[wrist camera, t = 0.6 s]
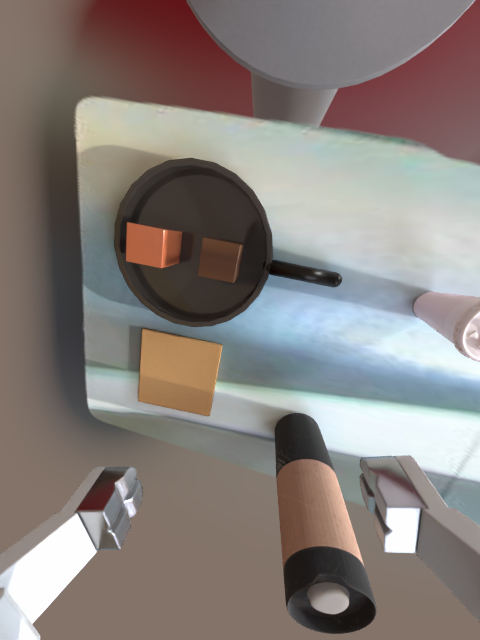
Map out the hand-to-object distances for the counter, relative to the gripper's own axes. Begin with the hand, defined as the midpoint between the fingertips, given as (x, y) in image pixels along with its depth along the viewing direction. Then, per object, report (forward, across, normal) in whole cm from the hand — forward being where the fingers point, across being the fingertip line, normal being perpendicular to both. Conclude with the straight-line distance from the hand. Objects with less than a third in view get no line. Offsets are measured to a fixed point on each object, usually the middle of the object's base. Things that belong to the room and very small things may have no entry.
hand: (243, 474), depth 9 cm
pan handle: (+26, -6, -3) cm, 26 cm away
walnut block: (+25, +3, -6) cm, 26 cm away
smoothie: (+26, -22, +3) cm, 34 cm away
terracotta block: (+25, +11, -9) cm, 29 cm away
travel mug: (+26, -4, +22) cm, 34 cm away
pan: (+26, +7, -8) cm, 27 cm away
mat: (+26, +14, +10) cm, 31 cm away
